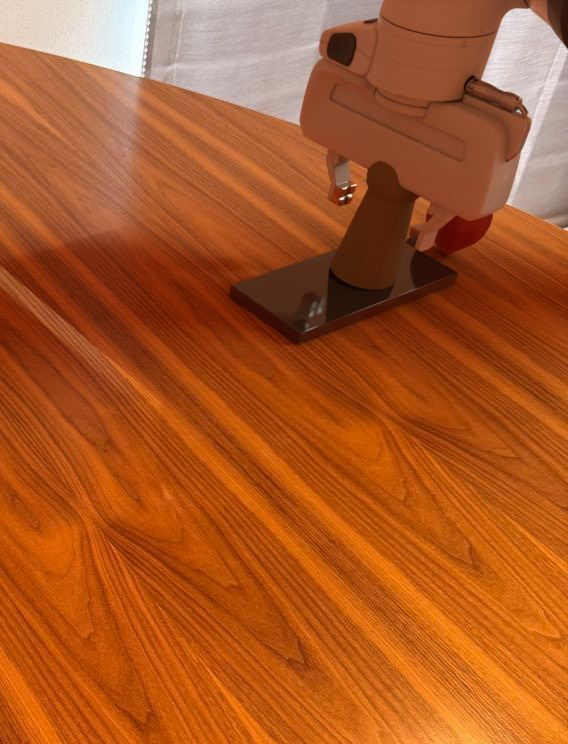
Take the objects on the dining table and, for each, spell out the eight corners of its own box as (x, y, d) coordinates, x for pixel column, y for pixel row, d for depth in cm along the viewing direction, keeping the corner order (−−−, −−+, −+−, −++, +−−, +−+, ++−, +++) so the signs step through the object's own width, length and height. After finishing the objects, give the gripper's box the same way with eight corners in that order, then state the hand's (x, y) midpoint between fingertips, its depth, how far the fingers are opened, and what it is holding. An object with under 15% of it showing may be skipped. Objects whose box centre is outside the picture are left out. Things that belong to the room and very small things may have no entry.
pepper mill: (328, 249, 91) (366, 134, 83) (392, 258, 91) (437, 144, 83) (332, 284, 87) (373, 166, 79) (400, 294, 87) (447, 176, 79)
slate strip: (382, 242, 96) (386, 231, 95) (455, 284, 91) (459, 272, 90) (228, 296, 88) (230, 284, 87) (297, 345, 83) (301, 332, 82)
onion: (413, 235, 97) (439, 156, 92) (473, 242, 97) (503, 163, 91) (417, 263, 93) (445, 182, 88) (480, 271, 93) (512, 190, 87)
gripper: (566, 96, 71) (497, 266, 81) (360, 15, 83) (322, 172, 93) (510, 112, 69) (446, 286, 79) (307, 26, 81) (273, 186, 91)
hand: (377, 223), depth 86 cm, fingers open, 8 cm apart
